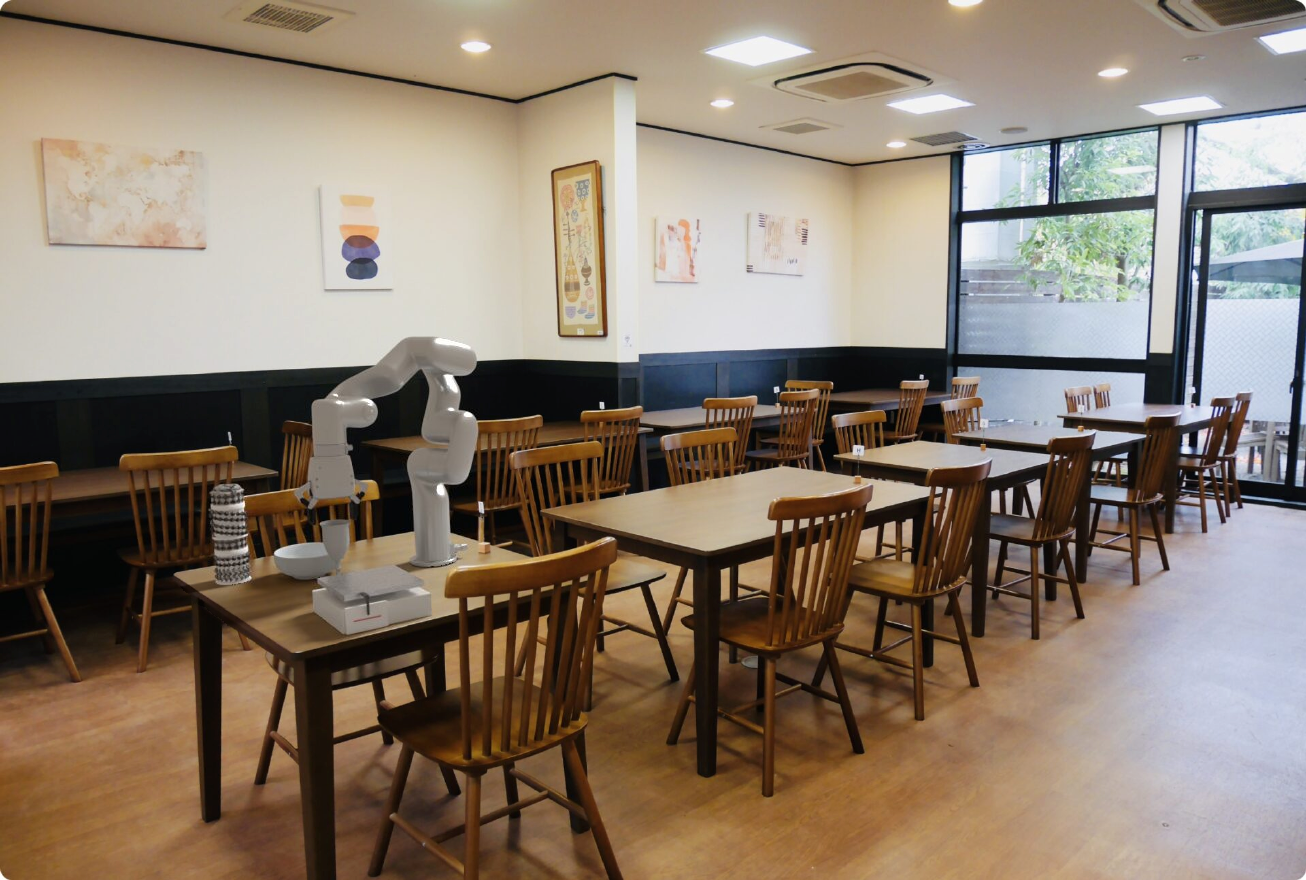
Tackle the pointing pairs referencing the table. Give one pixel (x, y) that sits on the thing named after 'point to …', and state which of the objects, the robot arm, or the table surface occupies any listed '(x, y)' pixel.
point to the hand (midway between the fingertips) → (333, 521)
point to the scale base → (371, 609)
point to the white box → (369, 583)
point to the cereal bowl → (304, 560)
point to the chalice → (336, 539)
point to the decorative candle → (229, 534)
